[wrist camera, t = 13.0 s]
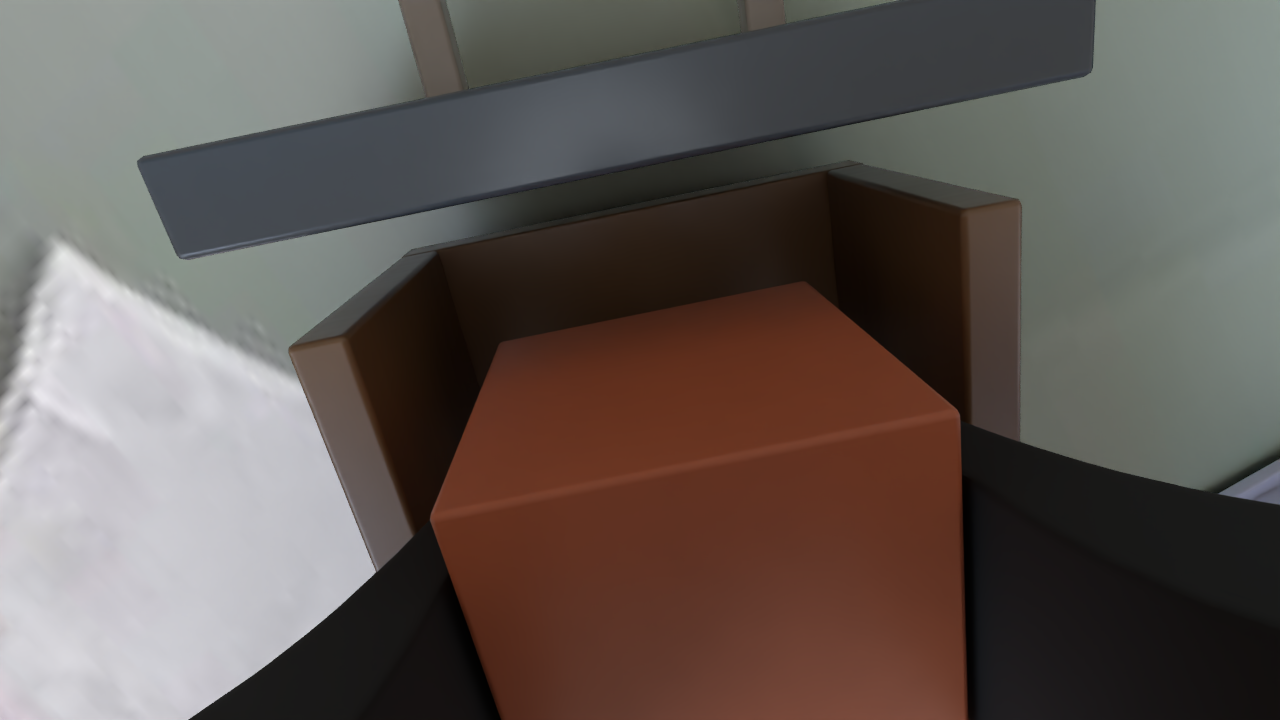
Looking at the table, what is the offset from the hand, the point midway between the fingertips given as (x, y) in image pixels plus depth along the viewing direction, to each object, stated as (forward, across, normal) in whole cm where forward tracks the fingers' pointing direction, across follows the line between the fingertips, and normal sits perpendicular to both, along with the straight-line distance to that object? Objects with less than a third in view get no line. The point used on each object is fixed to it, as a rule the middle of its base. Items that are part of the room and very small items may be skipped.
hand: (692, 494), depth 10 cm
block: (+1, 0, 0) cm, 1 cm away
